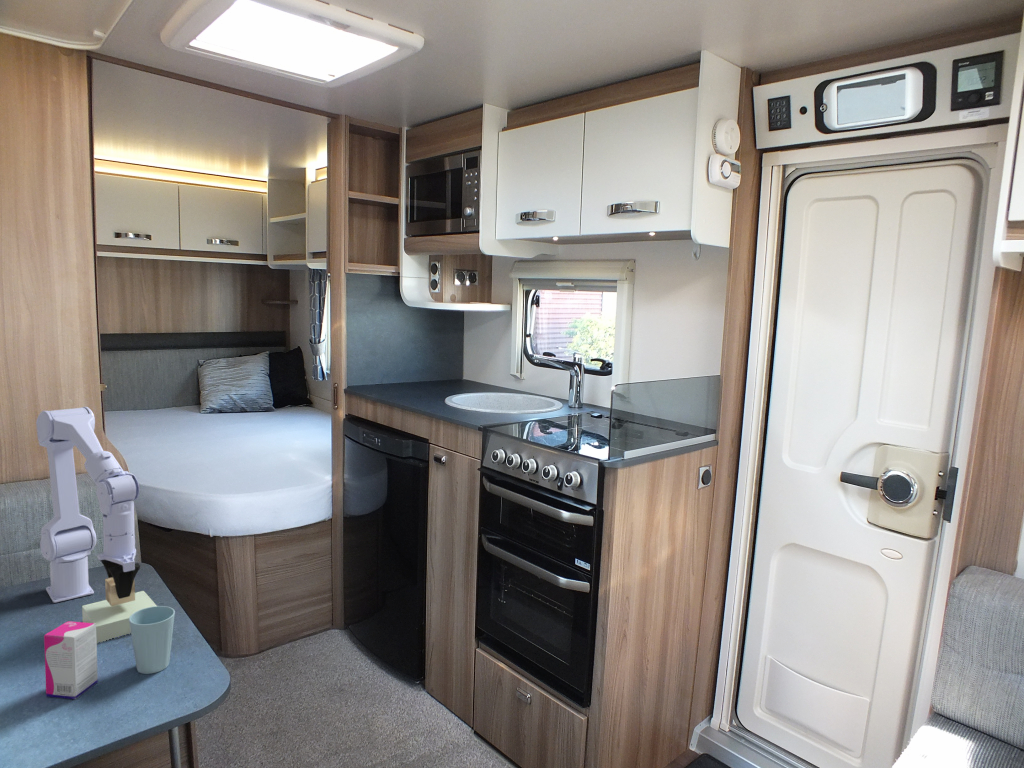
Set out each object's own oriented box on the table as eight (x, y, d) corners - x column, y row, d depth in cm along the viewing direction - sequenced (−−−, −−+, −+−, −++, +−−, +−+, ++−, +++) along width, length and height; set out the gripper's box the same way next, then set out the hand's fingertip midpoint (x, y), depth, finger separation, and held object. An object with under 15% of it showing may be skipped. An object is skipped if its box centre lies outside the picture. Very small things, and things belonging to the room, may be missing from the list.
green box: (82, 623, 143) (82, 605, 143) (143, 607, 151) (143, 590, 151) (96, 645, 135) (95, 626, 134) (160, 627, 143) (160, 609, 142)
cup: (158, 679, 123) (157, 626, 122) (120, 675, 124) (119, 622, 123) (184, 658, 131) (183, 607, 129) (147, 654, 132) (146, 604, 130)
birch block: (105, 598, 142) (105, 578, 142) (129, 593, 145) (128, 573, 145) (111, 606, 139) (110, 585, 139) (135, 600, 142) (134, 580, 142)
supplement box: (99, 681, 122) (97, 622, 120) (75, 700, 116) (72, 638, 114) (70, 678, 122) (67, 619, 121) (44, 697, 116) (41, 635, 115)
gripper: (88, 526, 143) (90, 586, 144) (106, 545, 133) (108, 610, 134) (125, 519, 148) (127, 578, 149) (145, 538, 137) (146, 600, 139)
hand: (120, 592), depth 142 cm, fingers closed on birch block, 4 cm apart
